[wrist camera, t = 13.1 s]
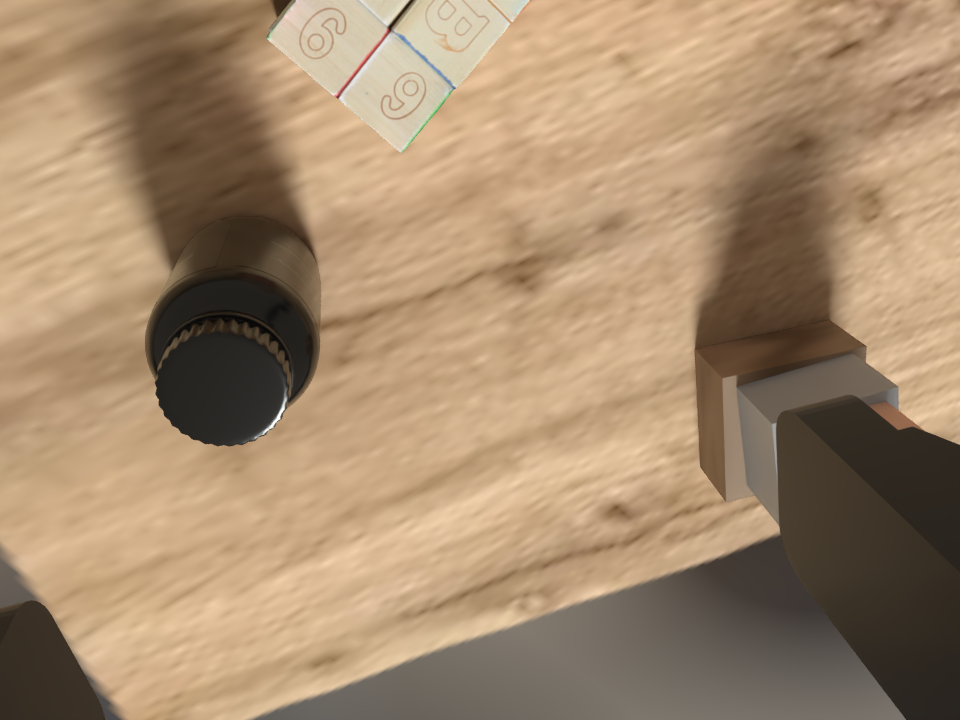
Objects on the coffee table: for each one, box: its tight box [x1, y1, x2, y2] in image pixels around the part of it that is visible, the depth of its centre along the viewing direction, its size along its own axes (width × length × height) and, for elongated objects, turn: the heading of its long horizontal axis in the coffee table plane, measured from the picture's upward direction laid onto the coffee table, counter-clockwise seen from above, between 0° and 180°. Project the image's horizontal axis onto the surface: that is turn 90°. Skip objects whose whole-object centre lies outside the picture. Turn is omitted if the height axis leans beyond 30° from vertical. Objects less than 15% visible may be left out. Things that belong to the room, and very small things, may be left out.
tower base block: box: [695, 320, 867, 502], centre depth 48 cm, size 8×8×4 cm
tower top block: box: [736, 353, 898, 525], centre depth 44 cm, size 6×6×4 cm
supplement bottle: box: [145, 216, 321, 446], centre depth 36 cm, size 7×7×12 cm
